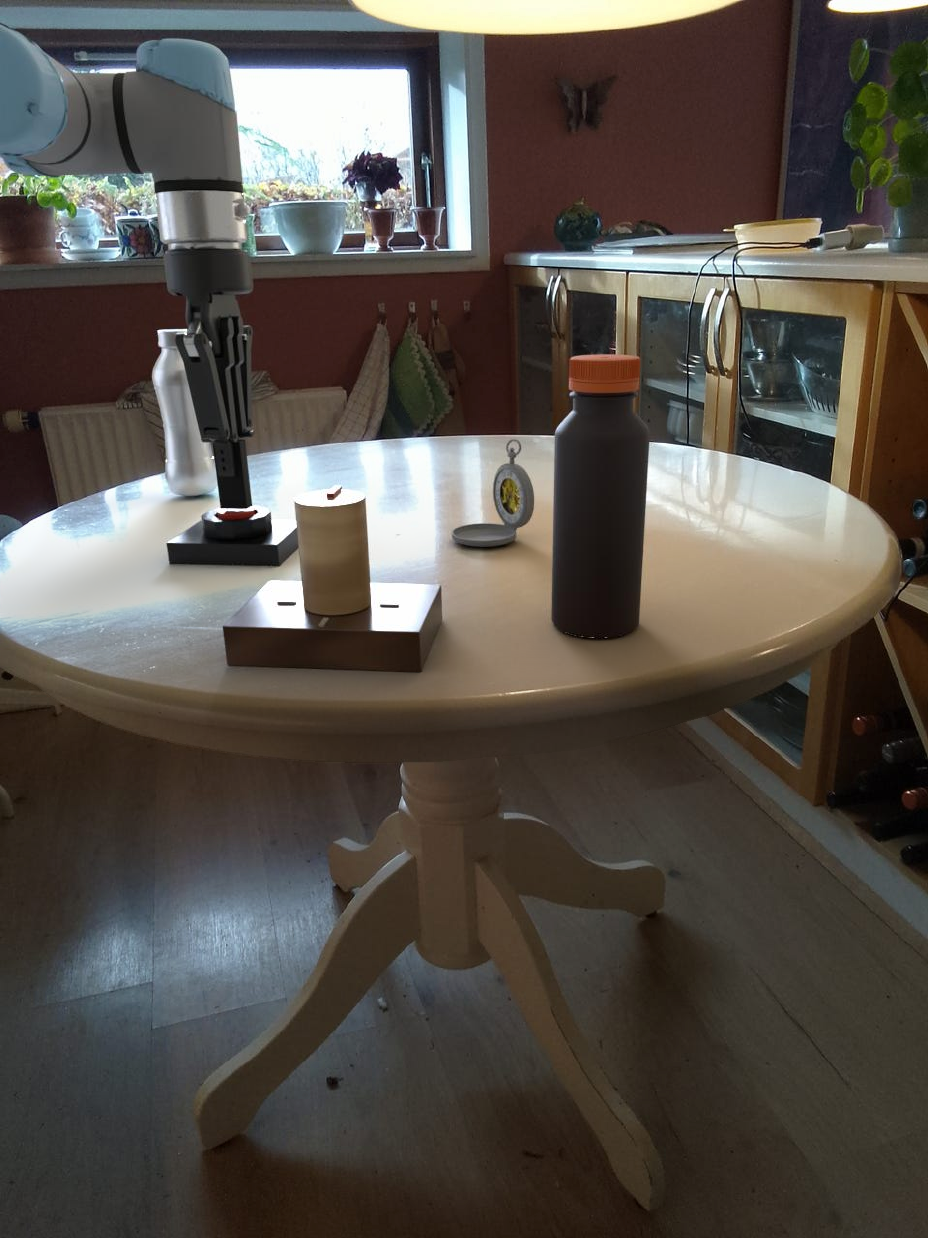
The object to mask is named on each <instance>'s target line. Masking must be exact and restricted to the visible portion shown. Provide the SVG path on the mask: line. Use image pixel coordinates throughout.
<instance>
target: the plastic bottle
mask: <svg viewBox="0 0 928 1238" xmlns="http://www.w3.org/2000/svg"><path fill="white" fill-rule="evenodd" d="M186 333H187V328H173V329H172V328H170V329H159V330H157V337H158V342H157V343H158V344H157V345H158V347H159V348H161V353H160V354H159V356H158V358H157V359H156V361H155V363H154V365H153V368H152V373H151V380H152V385H153V388H154V392H155V396H156V399H157V404H158V406H159V410H160V416H161V420H162V422H163V423H162V426H163V432H164V445H165V446H164V447H165V463H164V477H165V481H166V484H167V487H168V489H169V490H170V491H171V492H172V494H174V495H177V496H184V497H198V496H202V495H206V494H209V493H213V492H214V491H215V490H216V488H217V487H218V484H217V476H216V468H215V459H214V452H213V448H212V445H211V443H204V442H202V440H201V436H200V432H199V428H198V423H197V419H196V415H195V410H194V406H193V402H192V398H191V393H190V389H189V385H188V380H187V376H186V372H185V368H184V363H183V360H182V358H181V355H180V353H179V351H178V348H177V346H176V342H175V337H176V334H186Z"/></svg>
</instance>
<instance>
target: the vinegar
mask: <svg viewBox="0 0 928 1238" xmlns="http://www.w3.org/2000/svg"><path fill="white" fill-rule="evenodd" d="M641 361H642V358H641V357H640V356H637V355H630V354H615V353H614V354H611V353H609V354H607V353H606V354H605V353H604V354H603V353H601V354H600V353H599V354H581V355H574V356H571V357H570V358H569V367H568V368H569V371H568V372H569V373H568V375H569V376H568V390H570V393H569V397H570V398H572V402H573V403H572V410H571V411H570V412H569V414H568V415H567V416H566V417H565V418H564V419H563V420H562V421H561V422H560V424H558V426H557V427H556V429H555V432H554V450H553V452H554V453H553V455H554V456H553V457H554V458H553V461H554V462H553V503H552V504H553V506H552V508H553V511H552V512H553V513H552V556H551V558H552V559H551V609H550V610H551V612H550V613H551V614H550V615H551V616H550V617H551V618H550V619H551V622H552V624H553V625H554V627H555V628H556V627H557V628H556V629H557V630H559V629H560V630H559V631H561V632H562V631H563V632H562V633H564V632H567V633H569V634H568V635H570V634H572V635H571V636H573V635H576V636H575V637H577V636H583V637H594V638H605V637H615V638H617V637H616V636H619V637H621V636H620V635H624V636H626V635H628V634H630V633H632V632H634V631H635V630H636V629H637V628H638V627H639V624H640V612H641V611H640V610H641V597H642V596H641V595H642V578H643V577H642V576H643V562H644V561H643V560H644V558H643V557H644V542H645V541H644V540H645V526H646V525H645V524H646V509H647V508H646V507H647V491H648V490H647V489H648V473H649V457H650V456H649V455H650V440H651V437H650V436H651V433H650V428H649V427H648V425H647V424H646V423H645V422H644V420H642V418H641V417H640V416H639V415H638V413H637V412H636V411H635V410H634V403H635V402H634V400H635V398H637V397H638V396H639V392H636V391H638V390H640V377H641ZM629 632H630V633H629ZM567 633H566V634H567ZM627 633H628V634H627ZM625 634H626V635H625ZM583 637H582V638H583ZM605 639H606V638H605Z"/></svg>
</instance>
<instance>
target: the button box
mask: <svg viewBox="0 0 928 1238" xmlns="http://www.w3.org/2000/svg"><path fill="white" fill-rule="evenodd" d="M251 507H253V508H254V509H255V515H254V516H250V517H247V518H239V519H221V518H218V516H217V511H218V510H219V509H221V508H220V507H218V508H214V509H210V510H207V511H206V512H204V513H203V514H201V515H200V516H201V520H200V521H198V522H197V523H195V524H193V525H192V526H190V527H188V528H187V529H185V530H184V531H182V532H180V534H178V535H176V536H175V537H173V538H172V539H171V540H168V541H167V542H166V549H167V557H168V564H169V565H183V566H185V565H186V566H187V565H188V566H227V567H228V566H230V567H231V566H233V567H234V566H236V567H241V566H242V567H276V568H277V567H280V566H282V565H283V564H284V563H285V562H286V561H287V560H288V559H289V558H290V557H291V556H292V555H293V554H294V553H295V552H296V551H297V550H299V548H298V537H297V526H296V519H272V511H270V510H269V508H267V507H265V506H260V505H252V506H251Z"/></svg>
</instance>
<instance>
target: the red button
mask: <svg viewBox="0 0 928 1238" xmlns="http://www.w3.org/2000/svg"><path fill="white" fill-rule="evenodd" d="M254 515H255V509H254V508H253V507H250V508H248V509H219V510H218V511H217V516H218V518H221V519H239V518H247V517H250V516H254Z"/></svg>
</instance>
